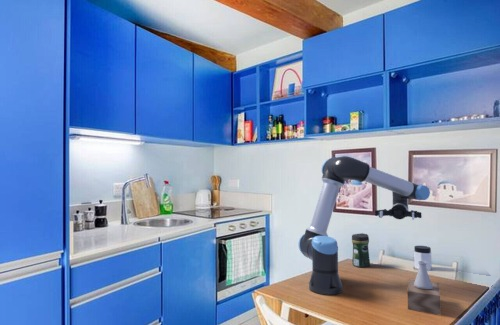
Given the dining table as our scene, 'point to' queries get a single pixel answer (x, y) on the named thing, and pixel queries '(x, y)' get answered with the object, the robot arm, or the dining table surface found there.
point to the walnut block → (424, 298)
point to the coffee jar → (360, 250)
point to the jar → (422, 256)
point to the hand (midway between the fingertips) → (396, 215)
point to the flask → (423, 277)
